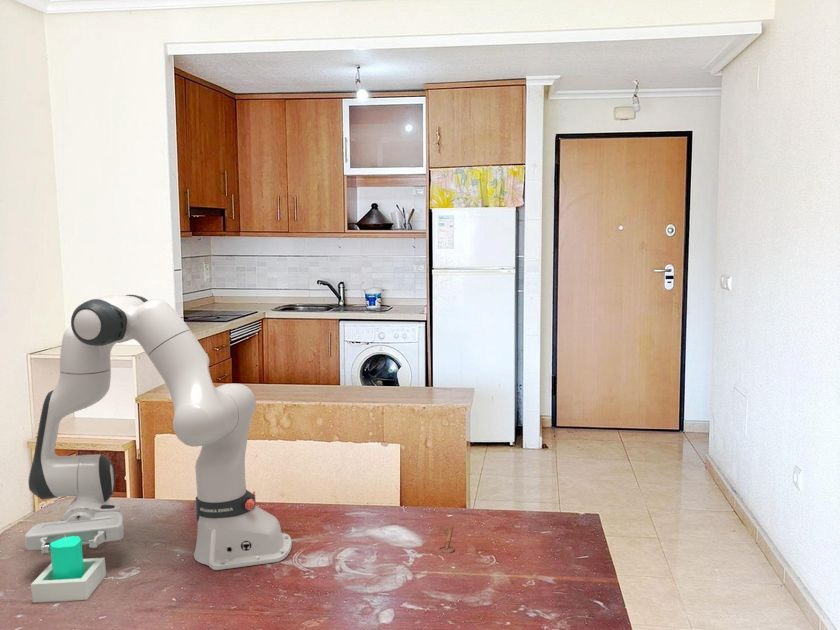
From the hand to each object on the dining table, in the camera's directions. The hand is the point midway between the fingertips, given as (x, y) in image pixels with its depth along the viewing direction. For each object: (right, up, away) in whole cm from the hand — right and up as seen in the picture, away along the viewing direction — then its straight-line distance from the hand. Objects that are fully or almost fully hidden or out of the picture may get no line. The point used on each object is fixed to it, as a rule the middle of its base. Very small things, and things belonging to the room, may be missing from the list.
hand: (68, 547), depth 159 cm
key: (+81, -5, +19) cm, 84 cm away
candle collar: (+1, -9, 0) cm, 9 cm away
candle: (0, -9, 0) cm, 9 cm away
